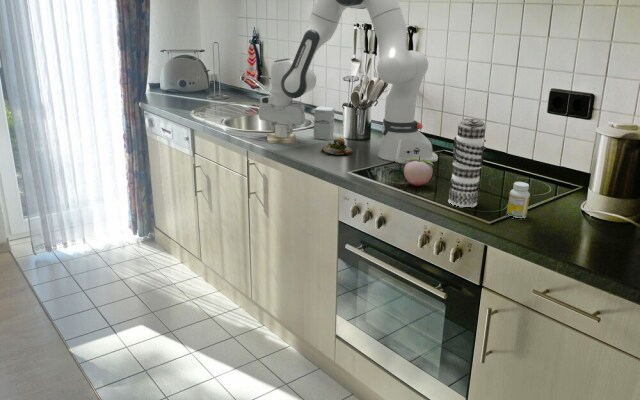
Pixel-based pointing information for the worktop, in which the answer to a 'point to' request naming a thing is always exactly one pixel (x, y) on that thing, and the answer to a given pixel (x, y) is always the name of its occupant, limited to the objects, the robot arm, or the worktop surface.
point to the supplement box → (324, 123)
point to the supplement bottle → (518, 200)
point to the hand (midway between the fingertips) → (281, 132)
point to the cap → (282, 130)
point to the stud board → (273, 139)
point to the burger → (338, 147)
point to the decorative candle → (467, 163)
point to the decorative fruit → (418, 171)
